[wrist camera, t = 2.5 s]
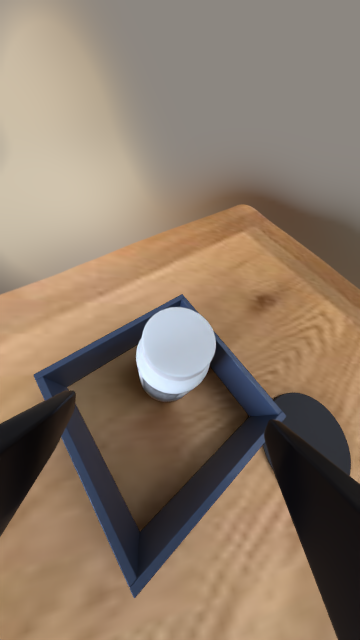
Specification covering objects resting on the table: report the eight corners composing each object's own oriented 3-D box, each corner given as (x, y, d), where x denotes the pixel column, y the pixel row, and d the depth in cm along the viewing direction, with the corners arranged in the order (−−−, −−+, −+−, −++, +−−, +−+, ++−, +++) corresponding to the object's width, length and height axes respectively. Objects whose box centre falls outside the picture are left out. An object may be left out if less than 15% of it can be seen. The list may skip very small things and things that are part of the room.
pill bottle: (203, 378, 21) (243, 347, 12) (161, 415, 18) (174, 410, 10) (170, 339, 22) (185, 286, 14) (128, 369, 20) (114, 329, 11)
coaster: (359, 449, 20) (365, 449, 19) (316, 527, 16) (322, 530, 16) (293, 377, 22) (296, 376, 22) (243, 431, 19) (245, 431, 18)
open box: (255, 417, 20) (287, 416, 15) (137, 545, 14) (134, 599, 10) (175, 317, 24) (182, 293, 19) (59, 385, 18) (32, 374, 14)
